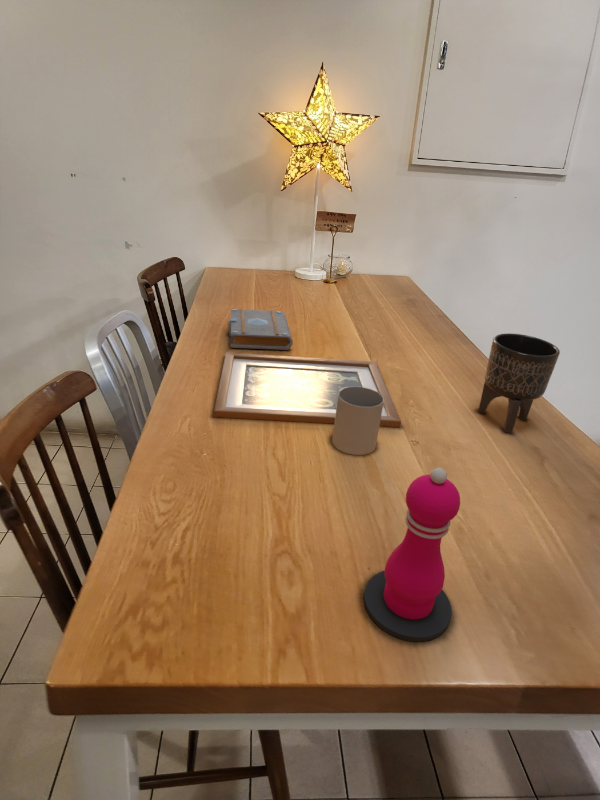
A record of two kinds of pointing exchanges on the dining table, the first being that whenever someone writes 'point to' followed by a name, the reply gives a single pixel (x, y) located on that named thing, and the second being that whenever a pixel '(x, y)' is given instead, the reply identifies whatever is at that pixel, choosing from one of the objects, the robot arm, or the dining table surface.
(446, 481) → the pepper mill
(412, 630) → the trivet
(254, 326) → the book
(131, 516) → the dining table surface
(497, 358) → the planter
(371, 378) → the wall art
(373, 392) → the cup
